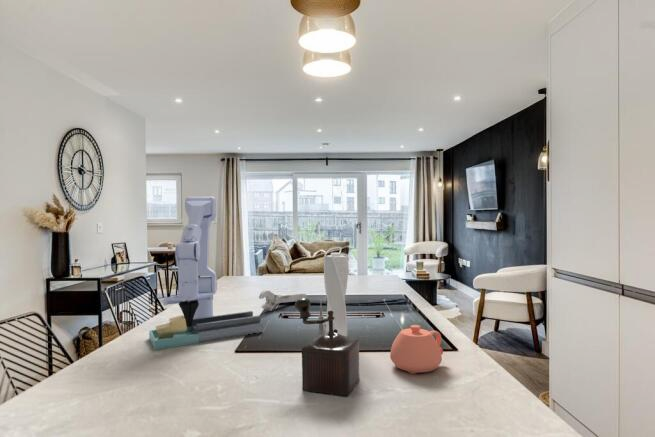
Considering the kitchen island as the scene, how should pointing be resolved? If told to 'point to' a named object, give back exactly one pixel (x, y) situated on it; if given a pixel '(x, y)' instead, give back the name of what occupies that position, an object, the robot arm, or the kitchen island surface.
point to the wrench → (278, 299)
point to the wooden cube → (178, 324)
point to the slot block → (226, 326)
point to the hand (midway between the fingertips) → (188, 325)
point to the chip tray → (173, 339)
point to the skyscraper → (335, 291)
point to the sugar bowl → (416, 350)
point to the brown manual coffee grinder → (328, 358)
